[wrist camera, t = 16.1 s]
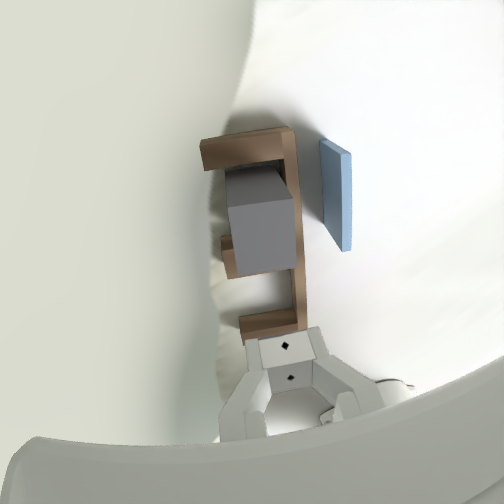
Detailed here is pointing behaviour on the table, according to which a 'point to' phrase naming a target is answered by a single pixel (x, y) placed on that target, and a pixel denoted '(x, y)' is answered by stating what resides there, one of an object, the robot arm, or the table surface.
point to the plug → (260, 220)
